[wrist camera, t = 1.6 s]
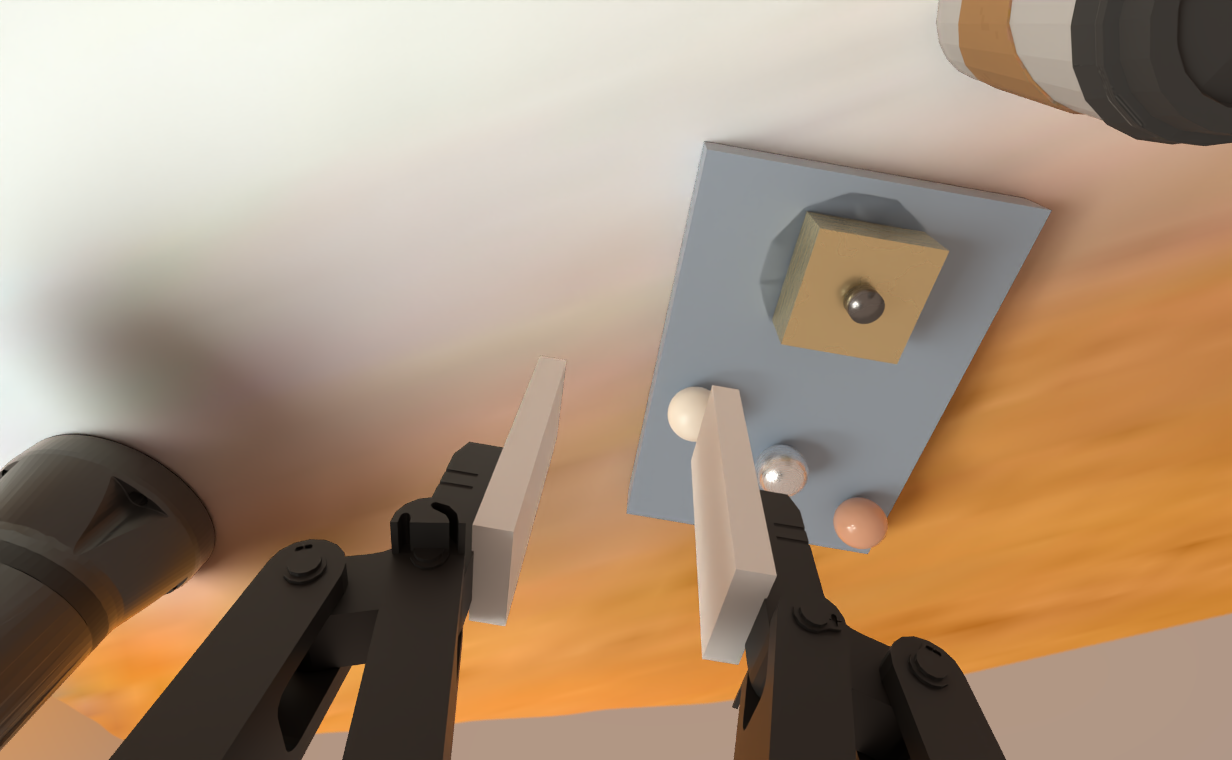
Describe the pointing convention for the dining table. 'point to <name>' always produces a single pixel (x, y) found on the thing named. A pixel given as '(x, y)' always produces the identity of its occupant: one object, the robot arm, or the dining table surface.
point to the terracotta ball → (860, 523)
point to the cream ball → (688, 412)
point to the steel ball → (782, 470)
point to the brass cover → (856, 287)
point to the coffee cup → (1104, 60)
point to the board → (809, 379)
